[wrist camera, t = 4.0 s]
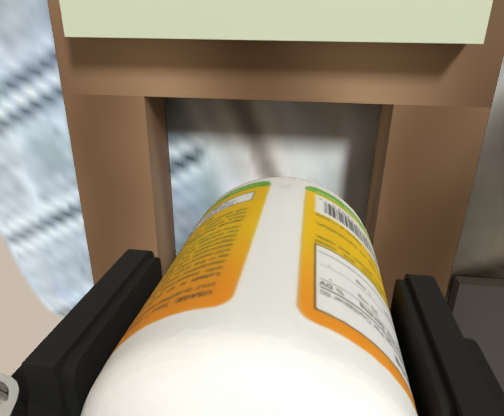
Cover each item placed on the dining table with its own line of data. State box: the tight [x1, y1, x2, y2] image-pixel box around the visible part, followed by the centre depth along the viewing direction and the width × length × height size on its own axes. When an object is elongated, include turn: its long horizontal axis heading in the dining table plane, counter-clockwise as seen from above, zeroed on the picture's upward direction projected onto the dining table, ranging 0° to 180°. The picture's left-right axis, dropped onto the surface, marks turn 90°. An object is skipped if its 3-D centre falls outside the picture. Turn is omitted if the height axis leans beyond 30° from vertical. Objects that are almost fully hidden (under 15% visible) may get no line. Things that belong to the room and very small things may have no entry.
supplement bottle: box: [81, 177, 418, 416], centre depth 8 cm, size 5×5×10 cm
